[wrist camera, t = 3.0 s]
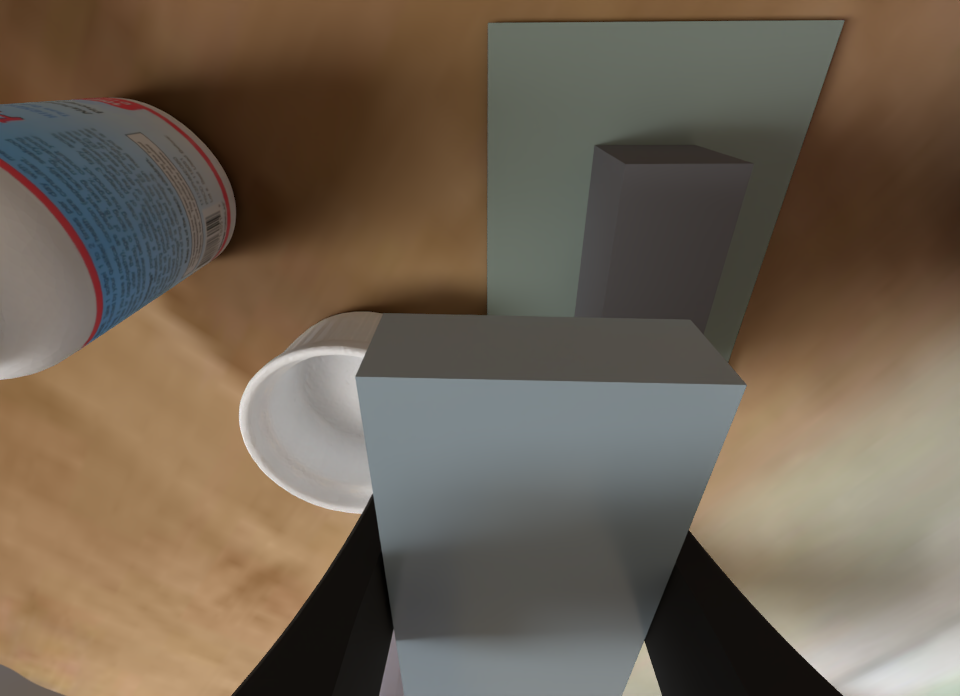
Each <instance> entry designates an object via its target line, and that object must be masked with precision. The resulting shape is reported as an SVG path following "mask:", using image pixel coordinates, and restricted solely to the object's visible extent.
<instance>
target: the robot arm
mask: <svg viewBox="0 0 960 696" xmlns="http://www.w3.org/2000/svg"><path fill="white" fill-rule="evenodd" d="M644 641H645V644H646V647H647V650H648V653H649V656H650V659H651V662H652V665H653V668H654V672H655V675H656V678H657V681H658V684H659V687H660V690H661V693H662V696H843V695H842V694H841V693H840V692H839V691H837V690H836V689H835V688H834V687H833V686H832V685H831V684H830V683H829V682H828V681H827V680H826V679H825V678H824V677H822V676H821V675H820V674H819V673H818V672H817V671H816V670H815V669H814V668H813V667H812V666H811V665H810V664H809V663H808V662H807V661H806V660H805V659H804V658H803V657H802V656H801V655H800V654H799V653H798V652H797V651H796V650H795V649H794V648H793V647H792V646H791V645H790V644H789V643H788V642H787V641H786V640H785V639H784V638H783V637H782V636H781V635H780V634H779V633H778V632H777V631H776V630H775V629H774V628H773V627H772V625H771V624H770V623H769V622H768V621H767V620H766V619H765V618H764V617H763V616H762V615H761V614H760V613H759V612H758V610H757V609H756V608H755V607H754V606H753V605H752V604H751V603H750V602H749V601H748V600H747V598H746V597H745V596H744V595H743V594H742V593H741V592H740V591H739V589H738V588H737V587H736V586H735V585H734V584H733V583H732V581H731V580H730V579H729V578H728V577H727V576H726V574H725V573H724V572H723V571H722V570H721V569H720V567H719V566H718V565H717V564H716V563H715V562H714V560H713V559H712V558H711V557H710V556H709V554H708V553H707V552H706V551H705V550H704V548H703V547H702V546H701V545H700V543H699V542H698V541H697V540H696V539H695V537H694V536H693V535H692V534H691V532H690V531H689V530H688V533H687V535H686V538H685V540H684V543H683V545H682V548H681V550H680V553H679V555H678V558H677V560H676V563H675V565H674V567H673V570H672V572H671V575H670V577H669V580H668V582H667V585H666V587H665V590H664V592H663V595H662V597H661V600H660V602H659V605H658V607H657V610H656V612H655V615H654V617H653V620H652V622H651V625H650V627H649V630H648V632H647V635H646V637H645V640H644ZM231 696H404V692H403V685H402V679H401V672H400V666H399V659H398V653H397V646H396V640H395V633H394V627H393V620H392V614H391V607H390V601H389V594H388V588H387V581H386V575H385V568H384V562H383V555H382V549H381V542H380V536H379V529H378V523H377V516H376V510H375V503H374V496H373V494H372V495H371V497H370V499H369V501H368V503H367V505H366V507H365V509H364V511H363V512H362V514H361V516H360V518H359V520H358V521H357V523H356V525H355V527H354V528H353V530H352V532H351V533H350V535H349V537H348V538H347V540H346V542H345V543H344V545H343V547H342V548H341V550H340V551H339V553H338V554H337V556H336V558H335V559H334V561H333V562H332V564H331V565H330V567H329V568H328V570H327V572H326V573H325V575H324V576H323V578H322V579H321V581H320V582H319V584H318V585H317V586H316V588H315V589H314V591H313V592H312V593H311V595H310V596H309V598H308V599H307V601H306V602H305V603H304V605H303V606H302V608H301V609H300V610H299V612H298V613H297V615H296V616H295V617H294V619H293V620H292V621H291V623H290V624H289V625H288V627H287V628H286V629H285V631H284V632H283V633H282V635H281V636H280V637H279V638H278V640H277V641H276V642H275V644H274V645H273V646H272V647H271V649H270V650H269V651H268V652H267V654H266V655H265V656H264V657H263V659H262V660H261V661H260V662H259V664H258V665H257V666H256V667H255V668H254V670H253V671H252V672H251V673H250V674H249V675H248V677H247V678H246V679H245V680H244V681H243V682H242V684H241V685H240V686H239V687H238V688H237V689H236V691H235V692H234V693H233V694H232V695H231Z"/></svg>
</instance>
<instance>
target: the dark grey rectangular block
mask: <svg viewBox="0 0 960 696" xmlns="http://www.w3.org/2000/svg"><path fill="white" fill-rule="evenodd" d="M753 165H754V163H751V162H748V161H744V160H741V159H738V158H735V157H732V156H729V155H725V154H722V153H719V152H716V151H713V150H710V149H707V148H703V147H700V146H697V145H594V154H593V162H592V171H591V179H590V188H589V196H588V205H587V213H586V222H585V230H584V239H583V247H582V256H581V264H580V273H579V281H578V290H577V298H576V307H575V315H574V317H591V318H638V319H685V320H691V321H692V322H693V323H694V324H695V325H696V327H697V328H698V329H699V330H700V331H701V332H702V334H703V335H704V332H705V328H706V325H707V321H708V318H709V315H710V311H711V308H712V304H713V301H714V298H715V294H716V291H717V287H718V284H719V281H720V277H721V274H722V270H723V267H724V264H725V260H726V257H727V254H728V250H729V247H730V243H731V240H732V237H733V233H734V230H735V226H736V223H737V220H738V216H739V213H740V209H741V206H742V203H743V199H744V196H745V192H746V189H747V186H748V182H749V179H750V175H751V172H752V169H753Z"/></svg>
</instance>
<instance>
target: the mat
mask: <svg viewBox="0 0 960 696" xmlns="http://www.w3.org/2000/svg"><path fill="white" fill-rule="evenodd" d="M844 21H845V20H795V21H669V22H543V23H488V180H487V315H497V316H544V317H574V315H575V307H576V298H577V290H578V281H579V273H580V264H581V256H582V247H583V239H584V230H585V222H586V213H587V205H588V196H589V188H590V179H591V171H592V162H593V154H594V145H697V146H700V147H703V148H707V149H710V150H713V151H716V152H719V153H722V154H725V155H729V156H732V157H735V158H738V159H741V160H744V161H748V162H751V163H754V165H753V169H752V172H751V175H750V179H749V182H748V186H747V189H746V192H745V196H744V199H743V203H742V206H741V209H740V213H739V216H738V220H737V223H736V226H735V230H734V233H733V237H732V240H731V243H730V247H729V250H728V254H727V257H726V260H725V264H724V267H723V270H722V274H721V277H720V281H719V284H718V287H717V291H716V294H715V298H714V301H713V304H712V308H711V311H710V315H709V318H708V321H707V325H706V328H705V332H704V336H705V337H706V338H707V339H708V341H709V342H710V343H711V344H712V345H713V346H714V347H715V349H716V350H717V351H718V352H719V353H720V354H721V356H722V357H723V358H724V359H725V360H726V361H727V363H728V361H729V359H730V356H731V353H732V350H733V347H734V344H735V341H736V338H737V335H738V332H739V329H740V326H741V323H742V320H743V317H744V314H745V312H746V309H747V306H748V303H749V300H750V297H751V294H752V291H753V288H754V285H755V282H756V279H757V276H758V273H759V270H760V268H761V265H762V262H763V259H764V256H765V253H766V250H767V247H768V244H769V241H770V238H771V235H772V232H773V229H774V226H775V223H776V221H777V218H778V215H779V212H780V209H781V206H782V203H783V200H784V197H785V194H786V191H787V188H788V185H789V182H790V179H791V177H792V174H793V171H794V168H795V165H796V162H797V159H798V156H799V153H800V150H801V147H802V144H803V141H804V138H805V135H806V132H807V130H808V127H809V124H810V121H811V118H812V115H813V112H814V109H815V106H816V103H817V100H818V97H819V94H820V91H821V88H822V86H823V83H824V80H825V77H826V74H827V71H828V68H829V65H830V62H831V59H832V56H833V53H834V50H835V47H836V44H837V41H838V39H839V36H840V33H841V30H842V27H843V24H844Z"/></svg>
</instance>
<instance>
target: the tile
mask: <svg viewBox="0 0 960 696" xmlns="http://www.w3.org/2000/svg"><path fill="white" fill-rule="evenodd" d="M355 379H356V386H357V392H358V399H359V405H360V412H361V418H362V425H363V431H364V438H365V444H366V451H367V457H368V464H369V470H370V477H371V483H372V490H373V496H374V503H375V510H376V516H377V523H378V529H379V536H380V542H381V549H382V555H383V562H384V568H385V575H386V581H387V588H388V594H389V601H390V607H391V614H392V620H393V627H394V633H395V640H396V646H397V653H398V659H399V666H400V672H401V679H402V685H403V692H404V696H622V694H623V692H624V689H625V687H626V684H627V682H628V679H629V677H630V674H631V672H632V669H633V667H634V664H635V662H636V659H637V657H638V654H639V652H640V649H641V647H642V645H643V642H644V640H645V637H646V635H647V632H648V630H649V627H650V625H651V622H652V620H653V617H654V615H655V612H656V610H657V607H658V605H659V602H660V600H661V597H662V595H663V592H664V590H665V587H666V585H667V582H668V580H669V577H670V575H671V572H672V570H673V567H674V565H675V563H676V560H677V558H678V555H679V553H680V550H681V548H682V545H683V543H684V540H685V538H686V535H687V533H688V530H689V528H690V525H691V523H692V520H693V518H694V515H695V513H696V510H697V508H698V505H699V503H700V500H701V498H702V495H703V493H704V490H705V488H706V485H707V483H708V481H709V478H710V476H711V473H712V471H713V468H714V466H715V463H716V461H717V458H718V456H719V453H720V451H721V448H722V446H723V443H724V441H725V438H726V436H727V433H728V431H729V428H730V426H731V423H732V421H733V418H734V416H735V413H736V411H737V408H738V406H739V403H740V401H741V399H742V396H743V394H744V391H745V389H746V386H747V385H746V383H745V382H744V381H743V380H742V379H741V378H740V376H739V375H738V374H737V373H736V372H735V371H734V370H733V368H732V367H731V366H730V365H729V364H728V363H727V361H726V360H725V359H724V358H723V357H722V356H721V354H720V353H719V352H718V351H717V350H716V349H715V347H714V346H713V345H712V344H711V343H710V342H709V341H708V339H707V338H706V337H705V336H704V335H703V334H702V332H701V331H700V330H699V329H698V328H697V327H696V325H695V324H694V323H693V322H692V321H691V320H685V319H638V318H591V317H544V316H497V315H450V314H403V313H383V315H382V317H381V319H380V322H379V324H378V326H377V328H376V331H375V333H374V335H373V337H372V340H371V342H370V344H369V347H368V349H367V351H366V353H365V356H364V358H363V360H362V362H361V365H360V367H359V369H358V371H357V374H356V376H355Z"/></svg>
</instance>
